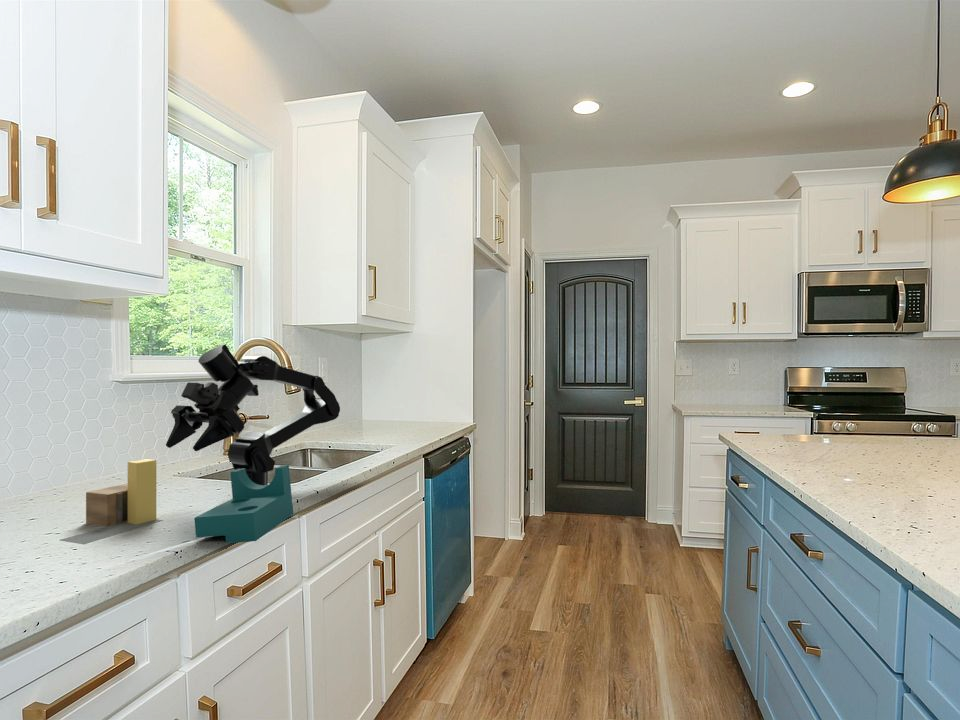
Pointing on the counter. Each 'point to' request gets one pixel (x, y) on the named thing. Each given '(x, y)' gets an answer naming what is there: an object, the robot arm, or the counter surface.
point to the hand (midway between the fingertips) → (180, 448)
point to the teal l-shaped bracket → (249, 508)
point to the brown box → (107, 506)
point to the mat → (106, 532)
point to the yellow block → (141, 491)
